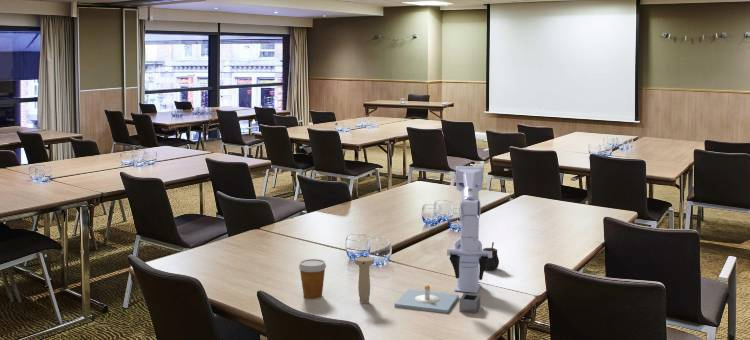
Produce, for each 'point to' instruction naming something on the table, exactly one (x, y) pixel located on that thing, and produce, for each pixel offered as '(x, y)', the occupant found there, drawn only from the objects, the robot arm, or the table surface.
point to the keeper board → (427, 300)
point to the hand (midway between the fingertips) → (468, 278)
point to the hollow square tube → (469, 303)
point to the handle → (364, 277)
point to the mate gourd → (492, 259)
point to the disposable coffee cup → (312, 277)
